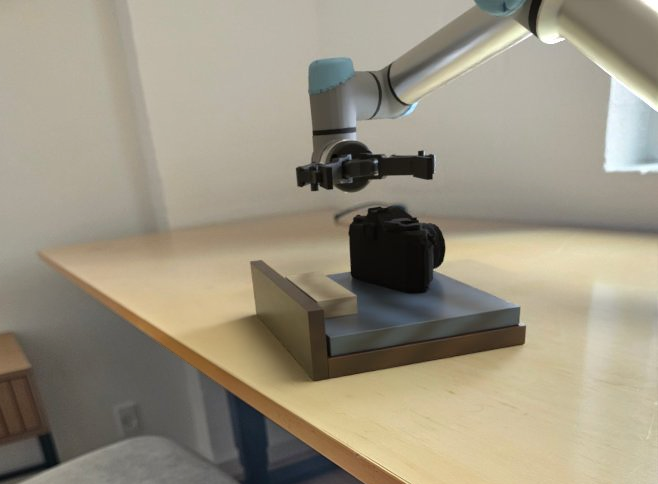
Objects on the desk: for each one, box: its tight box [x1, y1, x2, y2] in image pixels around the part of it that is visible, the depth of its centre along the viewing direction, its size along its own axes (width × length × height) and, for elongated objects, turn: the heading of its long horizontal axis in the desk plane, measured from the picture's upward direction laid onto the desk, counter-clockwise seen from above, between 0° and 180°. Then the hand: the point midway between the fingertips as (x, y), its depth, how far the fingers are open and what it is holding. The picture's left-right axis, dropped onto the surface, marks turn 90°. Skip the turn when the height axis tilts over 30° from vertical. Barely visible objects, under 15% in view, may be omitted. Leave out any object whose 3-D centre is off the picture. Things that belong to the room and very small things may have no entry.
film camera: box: [347, 205, 447, 293], centre depth 81 cm, size 15×10×9 cm, turn 30°
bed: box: [249, 259, 527, 382], centre depth 78 cm, size 24×28×7 cm
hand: (380, 173), depth 86 cm, fingers open, 13 cm apart
